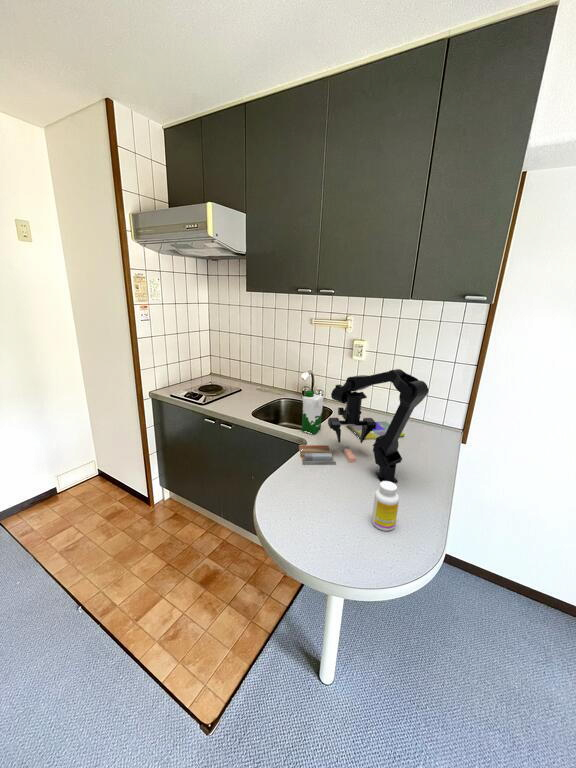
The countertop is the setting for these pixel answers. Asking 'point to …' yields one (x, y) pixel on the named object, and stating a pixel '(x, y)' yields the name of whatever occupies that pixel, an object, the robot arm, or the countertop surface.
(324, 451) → the cord caddy
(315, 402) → the milk carton
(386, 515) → the supplement bottle
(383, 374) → the robot arm
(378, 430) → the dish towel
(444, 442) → the countertop surface
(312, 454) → the grey square bar
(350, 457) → the two-tone eraser
